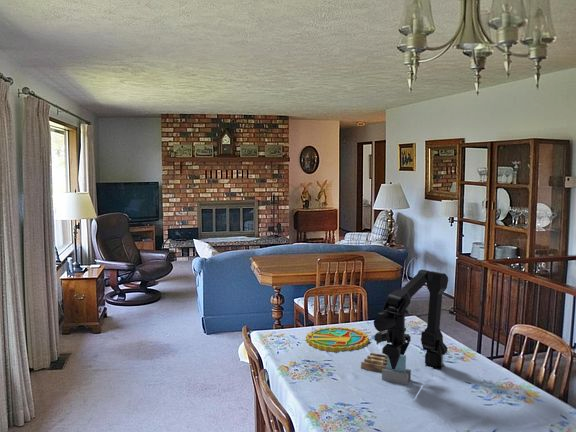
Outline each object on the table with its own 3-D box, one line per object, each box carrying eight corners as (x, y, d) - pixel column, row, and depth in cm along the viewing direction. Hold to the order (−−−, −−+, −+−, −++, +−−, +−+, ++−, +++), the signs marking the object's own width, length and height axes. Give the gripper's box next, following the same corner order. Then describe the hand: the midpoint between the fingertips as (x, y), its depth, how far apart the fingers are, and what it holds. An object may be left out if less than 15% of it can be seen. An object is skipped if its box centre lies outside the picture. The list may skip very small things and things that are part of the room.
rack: (394, 363, 215) (394, 356, 215) (385, 374, 204) (386, 366, 204) (369, 359, 220) (369, 352, 220) (360, 369, 209) (360, 362, 209)
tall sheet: (405, 380, 197) (405, 355, 196) (404, 381, 196) (404, 356, 195) (387, 377, 200) (388, 352, 199) (386, 378, 199) (387, 353, 198)
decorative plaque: (304, 346, 230) (307, 325, 260) (304, 351, 230) (307, 330, 260) (371, 347, 227) (366, 326, 257) (370, 353, 227) (366, 331, 257)
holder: (410, 380, 198) (410, 369, 197) (407, 385, 193) (407, 374, 193) (385, 376, 202) (385, 365, 202) (381, 380, 198) (382, 369, 198)
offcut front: (385, 365, 211) (385, 357, 211) (383, 367, 210) (384, 358, 210) (371, 363, 214) (371, 355, 214) (370, 364, 213) (370, 356, 213)
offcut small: (383, 369, 208) (383, 361, 207) (382, 370, 207) (382, 362, 206) (371, 367, 210) (371, 358, 210) (370, 368, 209) (370, 360, 208)
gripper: (384, 316, 208) (383, 353, 209) (369, 330, 191) (368, 370, 193) (411, 320, 202) (410, 358, 204) (398, 334, 186) (397, 375, 188)
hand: (396, 365), depth 197 cm, fingers open, 8 cm apart
